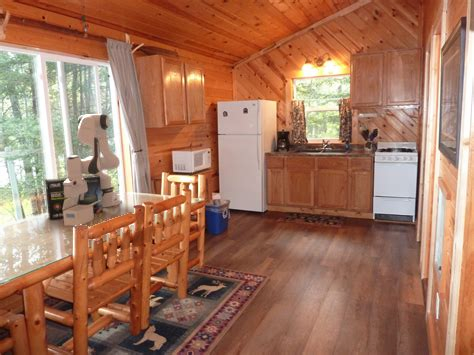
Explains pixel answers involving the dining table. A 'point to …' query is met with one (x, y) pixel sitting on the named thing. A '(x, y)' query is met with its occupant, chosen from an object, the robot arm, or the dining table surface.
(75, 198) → the flap
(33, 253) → the dining table surface
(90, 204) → the flap
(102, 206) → the robot arm
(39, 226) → the dining table surface
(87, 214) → the carton
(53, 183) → the router box
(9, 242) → the dining table surface
